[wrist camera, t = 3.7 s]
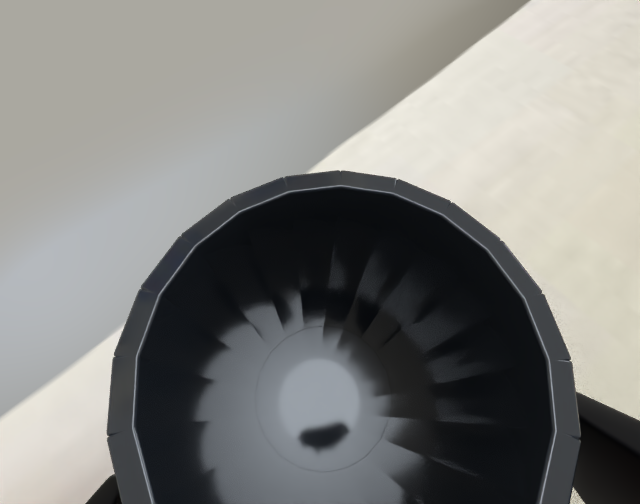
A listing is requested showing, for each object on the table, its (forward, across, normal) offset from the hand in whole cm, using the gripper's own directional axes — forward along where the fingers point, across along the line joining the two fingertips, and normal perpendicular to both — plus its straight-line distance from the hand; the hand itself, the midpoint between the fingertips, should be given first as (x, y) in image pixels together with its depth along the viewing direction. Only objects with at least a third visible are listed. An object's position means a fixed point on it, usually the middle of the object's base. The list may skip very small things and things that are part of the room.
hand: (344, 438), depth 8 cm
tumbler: (+7, 0, +5) cm, 9 cm away
